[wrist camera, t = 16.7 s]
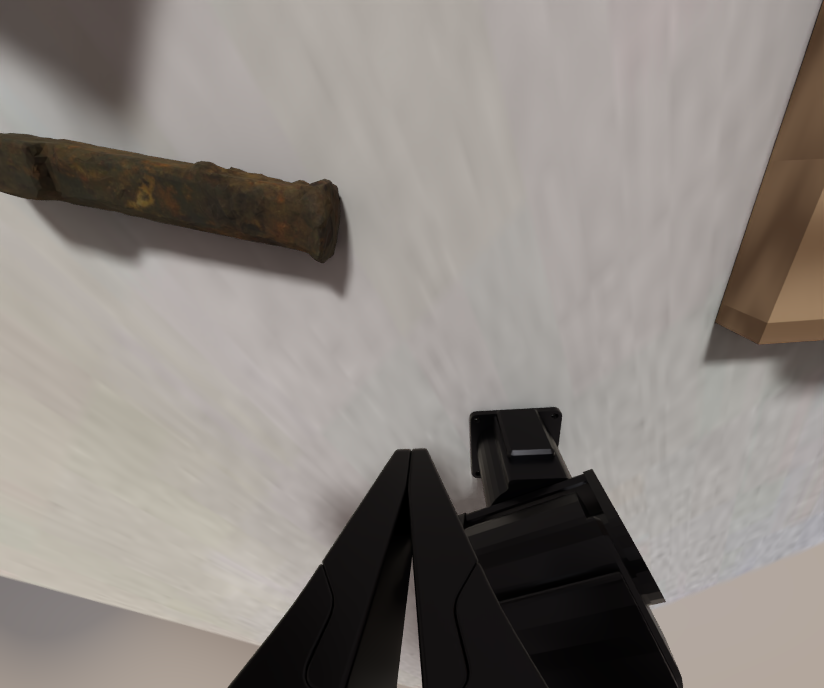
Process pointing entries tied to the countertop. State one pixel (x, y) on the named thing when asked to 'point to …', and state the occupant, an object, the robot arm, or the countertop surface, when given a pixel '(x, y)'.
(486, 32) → the countertop surface
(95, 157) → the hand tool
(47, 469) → the countertop surface
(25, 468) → the countertop surface
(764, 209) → the hole plate
